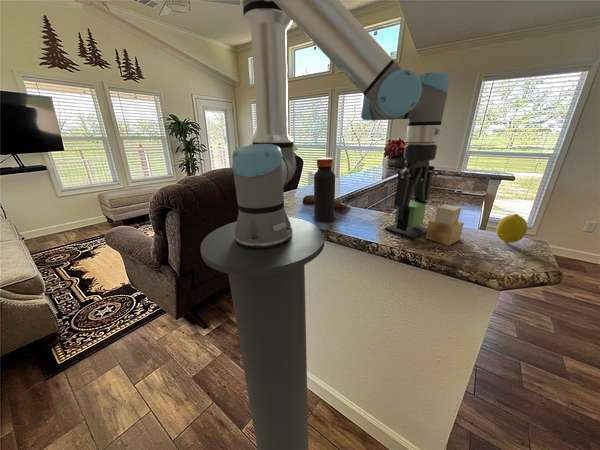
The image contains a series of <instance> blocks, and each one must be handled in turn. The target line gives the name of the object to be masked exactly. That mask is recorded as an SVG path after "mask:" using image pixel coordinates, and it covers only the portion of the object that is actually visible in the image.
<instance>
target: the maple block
mask: <svg viewBox="0 0 600 450" xmlns="http://www.w3.org/2000/svg"><path fill="white" fill-rule="evenodd" d="M427 223H428V224H427V227H426V228H427V233H426V234H425V239H427V240H430V241H433V242H435V243H439V244H442V245H444V246H447V247H449V246H451V245H452V244H455V243H457V242H458V241H460V240H461V236H462V231H463V228H464V221H459V220H458V222H457V223H455V224H453V225H451V226H450V225H446V224H442V223H439V222H435V218H433V219H430V220H429V221H428V222H427Z"/></svg>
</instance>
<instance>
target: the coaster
mask: <svg viewBox="0 0 600 450" xmlns="http://www.w3.org/2000/svg"><path fill="white" fill-rule="evenodd" d="M427 228H428V227H424V226H421V225H419V226H416V227H413V228H410V227H407V230H406V231H403V230H400V229H397V223H394V224H391V225H389V226H386V227H385V228H384V230H386V231H388V232H392V233H394V234H397V235H400V236H402V237H405V238H408V239H410V240H415V239H417V238H419V237H421V236H424V235H426V233H427Z"/></svg>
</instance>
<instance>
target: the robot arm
mask: <svg viewBox="0 0 600 450" xmlns="http://www.w3.org/2000/svg"><path fill="white" fill-rule="evenodd" d="M242 14H243V21H244V23H245V24H246V25H247V27H248V29H250V36H251V37H250V38H251V53H252V68H253V84H254V87H253V88H254V100H255V101H254V103H255V116H256V117H255V118H256V119H255V120H256V136H255V137H254V138H253V139H252V144H249V145H243V146H240V147H238V148H236V149H235V150H234V151H232V154H231V160H232V161H231V162H232V164H231V169H232V172H233V181H234V187H235V193H236V201H237V209H238V214H237V220H236V221H237V224H236V228H235V234H234V235H235V242H236V243H237V244H238V245H239V246H241V247H243V248H247V249H253V250H264V249H271V248H276V247H279V246H282V245H284V244H286V243H287V242H289V241H290V240H291V239H292V236H293V235H292V227H291V224H290V222H289V219H288V217H289V216H288V215H287V212H286V209H285V196H284V194H285V193H284V186H286V185H287V184H289V183H290V181H291V180H292V179H293V178H294V176H295V174H296V170H297V160H296V157H295V154H294V139H292V138H291V136H290V135H289V124H288V123H289V122H288V121H289V120H288V119H289V118H288V63H287V62H288V61H287V60H288V59H287V57H288V56H287V55H288V53H287V30H289V28H290V27H291V25H293V23H294V24H295V25H296V26H297V27H298V29H300V31H301V32H302V33H304V34H305V36H307V37H308V39H309V40H310V41H311V42H312V43H313V44H314V45H315V46H316V47H317V48H318V49H319V50H320V51H321V52H322V53H323V54H324V55H325V56H326V57H327V59H329V60H330V61H331V62H332V64H334V66H335V67H337V69H338V70H339V71H340V72H341V73H342V74H343V75H344V76H345V77H346V78H347V79H348V80H349V81H350V82H351V83H352V84H353V85H354V86H355V87H356V88H357V89H358V90H359V92H361V93H362V95H361V103H360V104H361V105H360V117H361V120H363V121H373V122H375V121H391V120H392V121H393V120H408V123H407V129H406V136H405V143H407V144H406V145H404V151H403V159H404V160H406V165H405V167H404V169H399V170H398V171H397V183H396V190H395V196H394V203H393V206H394V207H395V208H397V207H399V213H398V221H397V223H396V224H397V229H400V230H403V231H406V230H407V224H408V218H409V211H410V209H409V208H408V206H409V203H410V200H411V201H412V197H413V194H414V201H415V202H420V203H424V204H426V205H427V204H428V201H429V199H430V198H429V197H430V191H431V186H432V178H433V174H434V171H435V168H436V167H435V165H430V162H431V161H434V160H435V159H436V157H437V156H436V155H437V151H438V146H437V144H436V143H438V142H439V137H440V134H441V133H442V130H441V127H442V122H443V118H444V117H443V116H444V112H445V107H446V102H447V98H448V95H449V94H448V93H449V85H450V84H449V83H450V76H449V74H448V73H447V72H444V71H431V72H425V73H424V72H423V73H420V74H418V75H417V73H415V72H414V71H412V70H410V69H403V68H402V67H401V66H400V65H399V64H398V63H397V62H396V61H395V60H394V59H393V58H392V57H391V55H389V53H388V52H387V51H386V50H385V49H384V48H383V47H382V46H381V44H379V43H378V41H377V40H376V39H375V38H374V37H373V36H372V35H371V33H370V32H369V31H368V30H367V29H366V28H365V27H364V26H363V25H362V24H361V22H360V21H359V20H358V19H357V18H356V17H355V16H354V15H353V13H351V12H350V10H348V8H347V7H346V6H345V5H344V4H343V2H342V1H340V0H242ZM418 226H420V225H418Z"/></svg>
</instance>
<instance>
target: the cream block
mask: <svg viewBox="0 0 600 450" xmlns="http://www.w3.org/2000/svg"><path fill="white" fill-rule="evenodd" d="M461 211H462V207H460V206H456V205H451V204H446V203H445V204H442V205H439V206H437V207H436V212H435V217H434V219H435V222H439V223H442V224H446V225H450V226H451V225H453V224H455V223H457V222H458V221H459V219H460V216H461Z"/></svg>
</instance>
